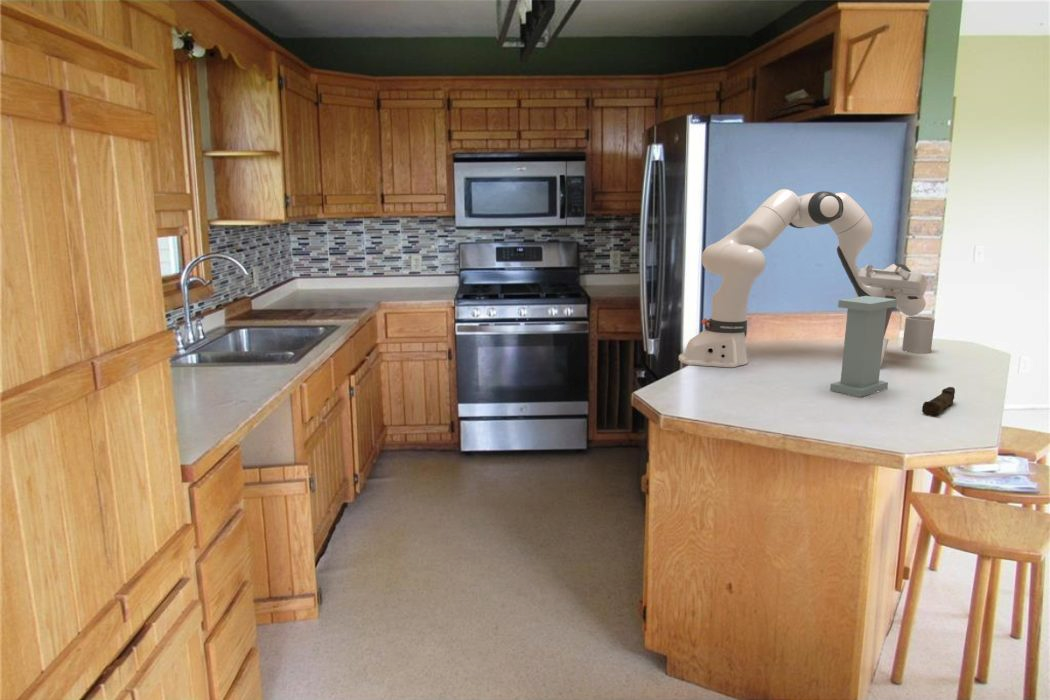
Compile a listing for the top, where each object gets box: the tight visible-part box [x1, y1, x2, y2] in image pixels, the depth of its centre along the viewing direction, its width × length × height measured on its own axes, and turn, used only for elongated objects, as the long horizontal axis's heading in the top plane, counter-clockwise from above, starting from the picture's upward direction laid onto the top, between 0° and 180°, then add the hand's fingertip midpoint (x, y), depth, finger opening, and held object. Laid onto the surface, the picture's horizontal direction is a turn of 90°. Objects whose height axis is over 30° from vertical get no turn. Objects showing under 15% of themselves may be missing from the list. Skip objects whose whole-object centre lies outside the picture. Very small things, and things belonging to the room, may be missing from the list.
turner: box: [880, 296, 896, 368], centre depth 235 cm, size 24×6×2 cm
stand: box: [829, 296, 898, 398], centre depth 206 cm, size 15×9×26 cm, turn 128°
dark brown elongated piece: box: [921, 386, 956, 417], centre depth 190 cm, size 19×4×5 cm, turn 133°
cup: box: [901, 315, 936, 355], centre depth 260 cm, size 9×9×12 cm
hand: (882, 268), depth 229 cm, fingers open, 8 cm apart
